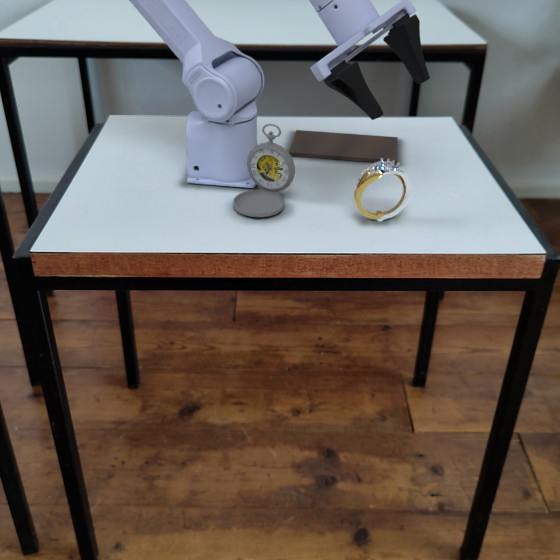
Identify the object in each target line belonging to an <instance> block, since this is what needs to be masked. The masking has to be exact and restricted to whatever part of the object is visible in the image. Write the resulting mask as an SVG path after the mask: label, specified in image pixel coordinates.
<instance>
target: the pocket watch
mask: <svg viewBox="0 0 560 560" xmlns="http://www.w3.org/2000/svg"><path fill="white" fill-rule="evenodd" d="M269 126H271V127H274V128H276V129H277V130H278V133H277V134H276V135H275V134H274V132H273V131H272V130H269V132H268V133H266V132H265V131H266V130H265V129H266V128H267V127H269ZM261 131H262V133H263V135H265V137H266V139H267V140H268V142H267V141H266V142H261V143H259V144H257V146H255V147H254V148H253V149H252V150H251V151H250V153H249V155H248V158H247V169H248V172H249V174H250V177H251V178H252V179H253V181H254V182H255V183H256V186H258V187H259V188H260V189H249V190H245V191H243V192H240V193H238V194H237V195H235V196H234V198H233V200H232V205H233V208H234V209H235V210H236V212H238V213H239V214H241V215H243V216H246V217H252V218H266V217H273V216H275V215H277V214H279V213H281V212H282V211H283V210H284V208H285V205H286V201H285V198H284V197H283V196H282V195H281V194H279V192H282V191H284V190H286V189H287V188H289V186H290V185H291V184H292V183H293V182H294V178H295V175H296V165H295V161H294V159H293V156H291V155H290V154H289V150H287V149H286V148H284V146H282V145H280V144H278V143H276V142H274V140H275V139H276V138H279V137H280V136H281V135H282V130H281V128H280V127H279V126H278V125H277V124H273V123H267V124H265V125H263V126H262V128H261ZM262 167H263V168H262ZM281 172H282V173H281Z"/></svg>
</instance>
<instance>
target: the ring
mask: <svg viewBox="0 0 560 560" xmlns="http://www.w3.org/2000/svg"><path fill="white" fill-rule="evenodd" d="M389 160H390V159H387V162H386V161H383V158H380V161H378V162H373V163H372V164H370V165H369V166H367V167H366V168H364V170H363V171H362V172H361V174H360V175H359V177H358V179H357V181H356V183H355V187H354V190H353V198H354V203H355V205H356V208H357V211H359V212H360V213H361V214H362V216H364V217H366V218H368V219H370V220H376V221H377V222H383V221H384V220H387V219H390V218H392V217H394V216H397V215H398V214H399V213H400V212H402V211H403V210H404V208H405V207H406V205H407V204H408V202H409V201H410V197H411V192H412V188H411V181H410V178H409V177H408V175H407V174H406V173H405V172H404V170H402V169H399V167H400V165H401V162H399V161H397V164H394V163H395V160H393V161H389ZM372 172H374V173H372ZM371 173H372V174H371ZM385 175H394V176H396V177H397V178H398V180H400V182H401V185H402V194H401V197H400V199H399V201H398V202H397V204H396V205H395V206H393V207H392V208H390V209H389V210H386V211H382V210H377V211H376V212H375V211H374V212H373V211H371V210H368V209H367V208H365V207H364V205H363V204H362V195H363V193H364V191H365V190H366V189H367V187H369V185H370V184H373V182H375V181H377V180H378V179H381V178H382V177H383V176H385Z"/></svg>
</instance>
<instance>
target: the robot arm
mask: <svg viewBox="0 0 560 560" xmlns="http://www.w3.org/2000/svg"><path fill="white" fill-rule="evenodd" d="M128 1H129V3H131V4H132V6H133V7H134V8H135V9H136V11H138V13H139V14H140V15H141V16H142V17H143V19H144V20H145V21H146V22H147V23H148V25H150V27H151V28H152V29H153V30H154V32H156V34H157V35H158V36H159V37H160V38H161V40H162V41H163V42H164V43H165V44H166V45H167V47H168V48H169V49H170V50H171V52H173V54H174V55H175V56H176V57H177V59H179V61H180V62H181V63H182V75H181V82H182V84H183V85H184V86H185V87H186V89H187V90H188V91H189V93H190V95H191V97H192V101H193V104H194V106H195V108H196V109H197V110H192V111H190V112H189V113H188V116H187V119H186V125H185V151H186V165H187V166H186V167H187V178H186V182H187V183H189V184H195V185H196V184H198V185H210V186H222V187H235V188H246V189H254V188H255V187H256V186H257V184H256V183H255V182H254V181H253V179H252V178H251V177H250V174H249V172H248V169H247V158H248V155H249V153H250V151H251V150H252V149H253V148H254V147H255V146H257V145H258V109H257V98H259V96H260V95H261V94H262V93H263V92H264V88H265V82H266V80H265V73H264V71H263V68H262V67H261V65H260V63H258V61H257V60H256V59H254V58H253V57H252V56H249V55H248V54H245V53H243V52H242V51H241V50H239V49H238V47H237V46H236V45H235V44H234V43H233V42H231V41H229V40H226V39H223V38H222V37H219V36H217V35H215V34H214V33H213V31H212V30H211V29H210V28H209V26H207V25H206V23H205V22H204V21H203V20H202V18H201V17H200V16H199V15H198V14H197V12H196V11H195V10H194V9H193V7H192V6H191V5H190V4H189V3H188V2H187V0H128ZM308 1H309V3H310V4H311V6H312V7H313V9H314V11H315V12H316V14H317V16H318V17H319V19H320V20H321V22H322V23H323V25H324V27H325V28H326V30H327V31H328V33H329V34H330V37H332V39H333V40H334V42H335V44H336V45H337V47H336V48H334V49H333V50H332V51H330V52H329V53H327V55H325V56H324V57H322V58H321V59H320V60H318V61H317V62H316V63H314V64H313V65H311V66H310V67H309V70H310V71H311V72H312V74H313V76H314V77H315V78H316V81H317V82H318V83H319V82H321V81H322V80H323V81H322V82H324V84H325V86H327V88H329V89H331V90H334V91H336V92H337V93H339V94H341V95H342V96H343V97H346V98H347V100H350V101H351V102H352V103H353V104H355V105H356V106H357V107H358V108H359V109H360V110H362V111H363V113H365V114H366V115H367V116H368V117H369V119H371V120H372V121H374V120H376V119H379V118H381V117H383V116H384V111H383V109H382V107H381V105H380V104H379V102H378V101H377V99H376V98H375V96H374V95H373V93H372V91H371V90H370V87H369V86H368V84H367V81H366V80H365V77H364V75H363V73H362V70H361V68H360V65H359V61H354V62H352V63H350V62H349V61H350V60H351V59H353V58H355V57H356V56H357V55H358V54H359V53H361V52H362V51H363V50H365V49H366V48H368V47H369V46H370V45H372V44H373V43H374V42H376V41H377V40H378V39H380V38H381V37H383V36H384V35H385V34H386V33H387V34H386V35H385V36H384V37H383V39H382V40H383V42H384V43H385V44H386V45H387V46H388V47H389V48H390V49H391V50H392V51H393V52H394V53H395V55H396V56H397V57H398V58H399V60H400V61H401V62H402V64H403V65H404V67H405V69H406V70H407V72H408V73H409V75H410V76H411V78H412V79H413V81H414V83H416V84H417V85H421V84H423V83H425V82H427V81H429V80H430V79H431V76H430V73H429V71H428V68H427V64H426V61H425V57H424V53H423V49H422V41H421V29H420V25H421V22H420V21H421V20H420V19H419V17H418V15H417V14H414V13H416V12H417V9H416V8H415V7H416V6H414V4H413V2H412V1H411V0H401V1H399V2H397V3H396V4H395V5H393V6H392V7H391V8H390V9H388V10H387V11H385V12H384V13H382V14H381V15H380V14H379V13H378V10H377V9H376V7H375V6H374V4H373V2H372V1H371V0H308ZM371 34H372V35H374V36H372V37H371V38H369V39H368V40H366V41H365V42H363V44H361V45H360V46H358V47H356V45H357V44H358V43H359V42H360V41H362V40H363V39H365V38H366V37H367V36H369V35H371ZM262 168H263V167H262Z"/></svg>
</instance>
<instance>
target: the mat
mask: <svg viewBox="0 0 560 560" xmlns="http://www.w3.org/2000/svg"><path fill="white" fill-rule="evenodd" d="M288 153H289V154H290V155H291V157H297V158H298V157H300V158H311V159H312V158H314V159H325V160H341V161H353V162H364V163H365V162H366V163H375V162H378V161H380V158H383V161H386V162H387V159H390V160H389V161H393V160H395V163H394V165H397V163H398V137H397V136H385V135H370V134H359V133H356V134H355V133H346V132H345V133H343V132H329V131H318V130H317V131H315V130H301V129H296V130H295V133H294V136H293V138H292V142H291V144H290V148H289V150H288Z"/></svg>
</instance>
